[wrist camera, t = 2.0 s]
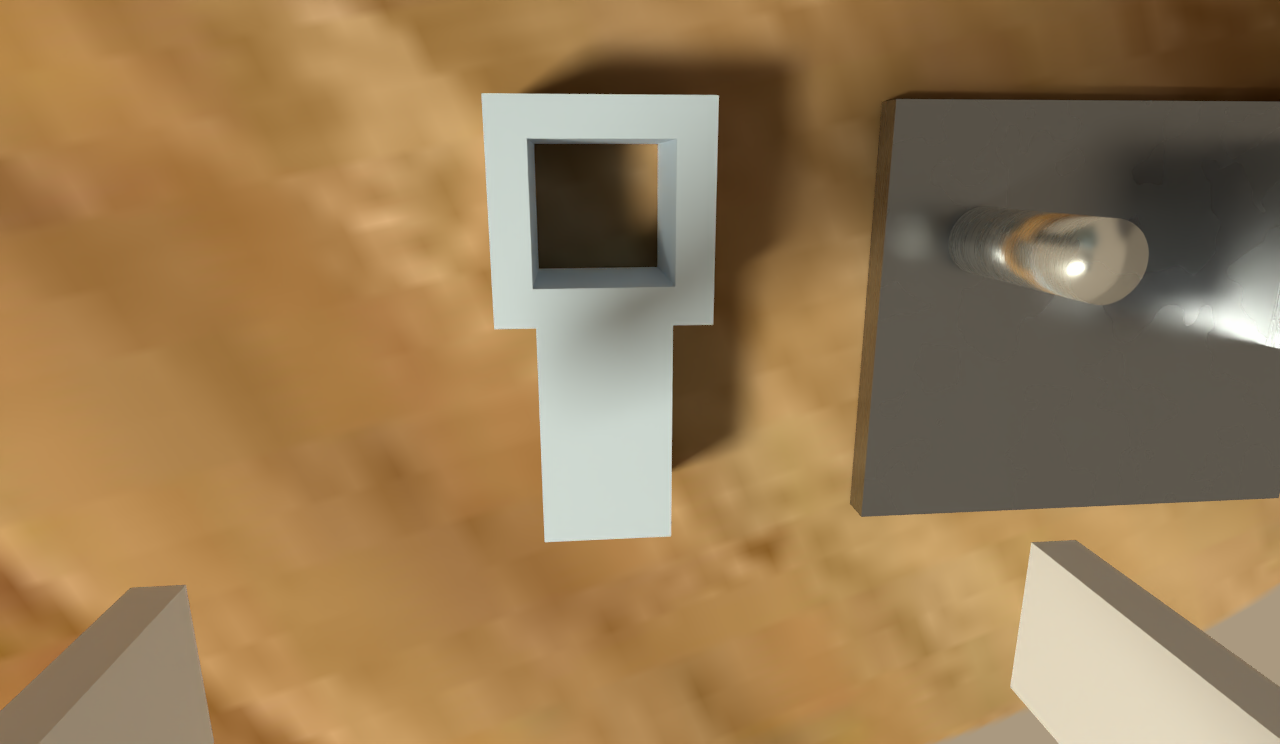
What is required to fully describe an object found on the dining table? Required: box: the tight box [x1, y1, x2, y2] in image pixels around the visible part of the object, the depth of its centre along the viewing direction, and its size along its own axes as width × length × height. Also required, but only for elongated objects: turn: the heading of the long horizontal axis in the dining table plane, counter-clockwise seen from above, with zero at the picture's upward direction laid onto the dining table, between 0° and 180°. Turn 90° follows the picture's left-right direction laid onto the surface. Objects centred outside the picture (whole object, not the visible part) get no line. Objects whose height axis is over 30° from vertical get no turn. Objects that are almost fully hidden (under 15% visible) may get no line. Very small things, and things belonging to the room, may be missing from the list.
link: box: [481, 93, 719, 542], centre depth 21 cm, size 12×6×4 cm, turn 0°
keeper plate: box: [850, 99, 1280, 517], centre depth 21 cm, size 13×15×7 cm
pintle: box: [949, 206, 1149, 305], centre depth 20 cm, size 2×2×6 cm
